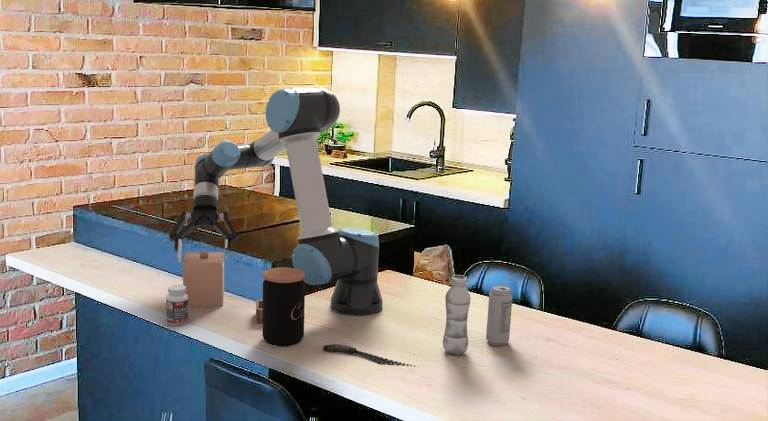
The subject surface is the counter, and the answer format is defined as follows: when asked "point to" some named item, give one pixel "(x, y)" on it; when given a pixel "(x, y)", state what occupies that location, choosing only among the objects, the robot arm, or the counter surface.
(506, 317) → the energy drink can
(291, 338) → the coffee jar
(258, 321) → the walnut open box
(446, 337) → the plastic bottle
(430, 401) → the counter surface
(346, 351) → the knife
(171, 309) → the pill bottle
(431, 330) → the counter surface
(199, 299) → the cube with knob
